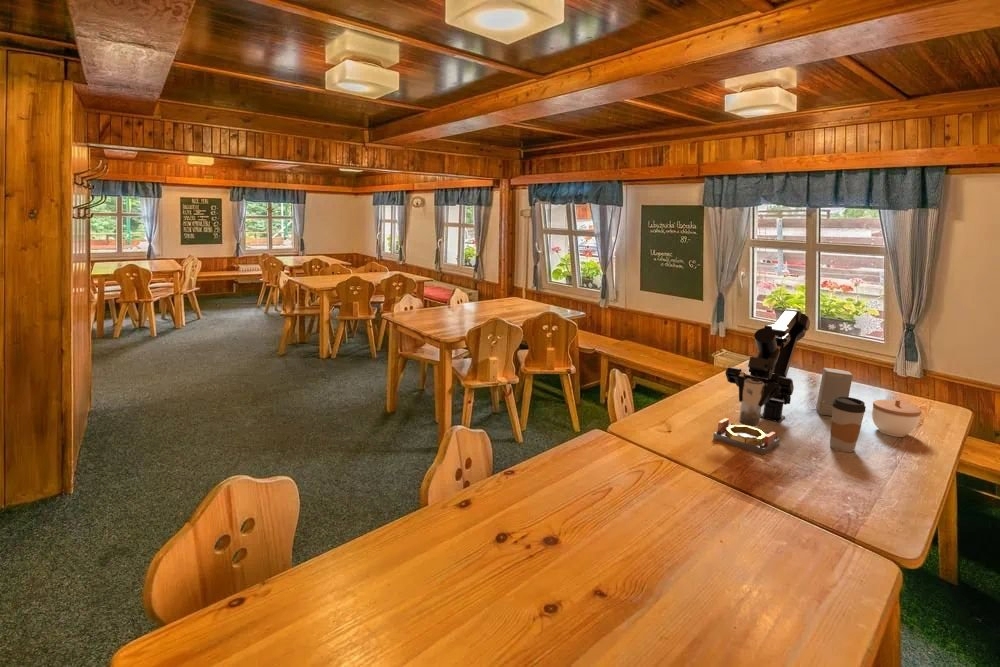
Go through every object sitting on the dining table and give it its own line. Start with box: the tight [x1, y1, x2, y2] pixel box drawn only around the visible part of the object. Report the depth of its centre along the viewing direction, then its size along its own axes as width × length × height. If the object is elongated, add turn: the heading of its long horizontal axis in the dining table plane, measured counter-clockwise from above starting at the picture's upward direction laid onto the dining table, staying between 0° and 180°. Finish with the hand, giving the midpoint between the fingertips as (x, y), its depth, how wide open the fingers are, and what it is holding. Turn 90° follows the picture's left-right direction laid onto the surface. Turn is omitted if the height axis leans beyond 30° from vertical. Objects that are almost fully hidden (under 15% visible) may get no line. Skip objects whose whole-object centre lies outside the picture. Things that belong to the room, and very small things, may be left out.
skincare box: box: [815, 367, 854, 417], centre depth 188 cm, size 8×7×16 cm
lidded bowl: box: [871, 399, 922, 438], centre depth 173 cm, size 13×13×11 cm
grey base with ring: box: [712, 417, 781, 456], centre depth 163 cm, size 12×15×5 cm
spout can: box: [738, 378, 765, 427], centre depth 161 cm, size 8×6×14 cm, turn 139°
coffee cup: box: [829, 397, 867, 453], centre depth 159 cm, size 8×8×15 cm
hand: (750, 403), depth 161 cm, fingers closed on spout can, 6 cm apart
